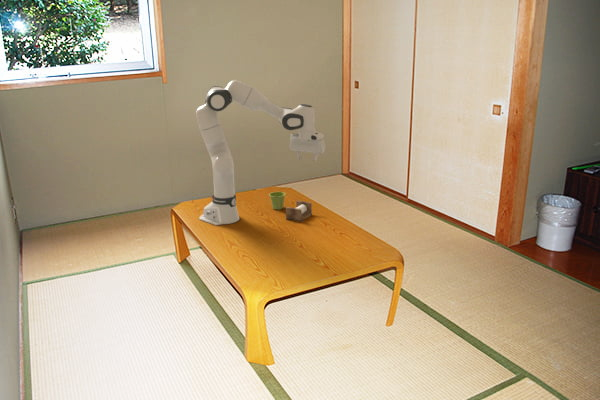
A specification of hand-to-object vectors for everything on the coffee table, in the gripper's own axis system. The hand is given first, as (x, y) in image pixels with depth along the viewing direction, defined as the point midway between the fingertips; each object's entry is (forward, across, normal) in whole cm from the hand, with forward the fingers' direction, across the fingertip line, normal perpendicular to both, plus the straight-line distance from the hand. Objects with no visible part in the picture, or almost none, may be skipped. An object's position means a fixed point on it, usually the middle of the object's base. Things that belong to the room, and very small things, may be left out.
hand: (307, 159), depth 287 cm
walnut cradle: (+31, -2, -7) cm, 32 cm away
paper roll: (+30, -2, -7) cm, 31 cm away
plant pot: (+31, -20, 0) cm, 37 cm away
